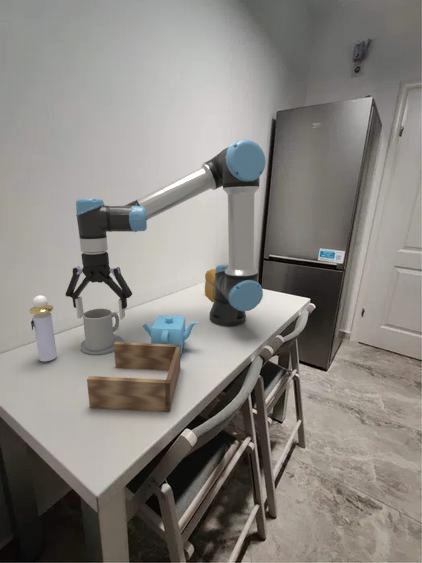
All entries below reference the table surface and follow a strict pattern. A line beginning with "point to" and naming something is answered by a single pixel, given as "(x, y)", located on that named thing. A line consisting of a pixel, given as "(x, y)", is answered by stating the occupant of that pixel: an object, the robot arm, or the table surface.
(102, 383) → the three-sided wooden frame
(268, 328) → the table surface
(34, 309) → the perfume bottle
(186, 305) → the table surface
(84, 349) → the grey saucer
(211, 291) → the bread
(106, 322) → the mug
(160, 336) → the teapot
